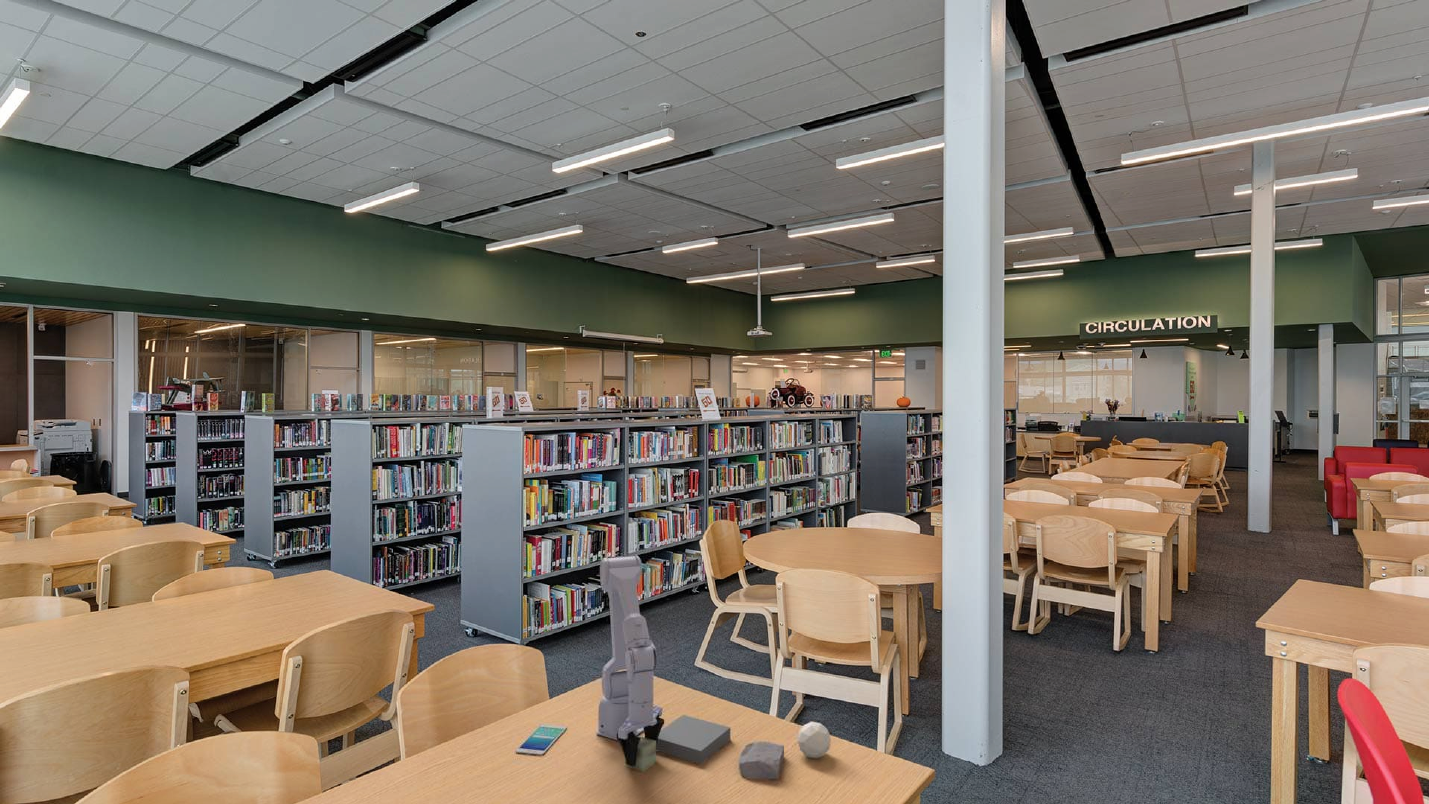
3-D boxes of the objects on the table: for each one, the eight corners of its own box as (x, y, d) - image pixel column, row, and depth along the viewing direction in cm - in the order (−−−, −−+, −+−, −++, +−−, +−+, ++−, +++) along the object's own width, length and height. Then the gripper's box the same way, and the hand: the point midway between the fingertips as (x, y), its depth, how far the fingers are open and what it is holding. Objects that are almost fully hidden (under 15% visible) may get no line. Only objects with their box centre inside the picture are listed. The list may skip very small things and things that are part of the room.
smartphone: (568, 726, 181) (543, 754, 167) (568, 729, 181) (543, 757, 167) (541, 723, 183) (513, 751, 168) (540, 727, 183) (513, 754, 168)
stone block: (738, 786, 157) (782, 781, 156) (734, 764, 158) (777, 759, 156) (746, 762, 169) (787, 757, 167) (742, 741, 169) (783, 736, 168)
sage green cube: (625, 766, 162) (625, 744, 162) (638, 757, 167) (638, 735, 167) (643, 772, 160) (643, 749, 160) (655, 762, 164) (655, 740, 164)
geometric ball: (805, 768, 167) (785, 738, 168) (825, 745, 172) (805, 717, 173) (823, 764, 161) (802, 733, 163) (843, 741, 166) (822, 711, 168)
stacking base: (651, 749, 170) (651, 736, 170) (683, 726, 182) (683, 714, 182) (700, 764, 163) (700, 751, 163) (730, 739, 175) (730, 727, 175)
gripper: (636, 714, 155) (635, 776, 155) (672, 691, 168) (672, 748, 167) (610, 707, 159) (610, 767, 158) (648, 685, 171) (648, 741, 171)
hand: (640, 757), depth 163 cm, fingers open, 7 cm apart
